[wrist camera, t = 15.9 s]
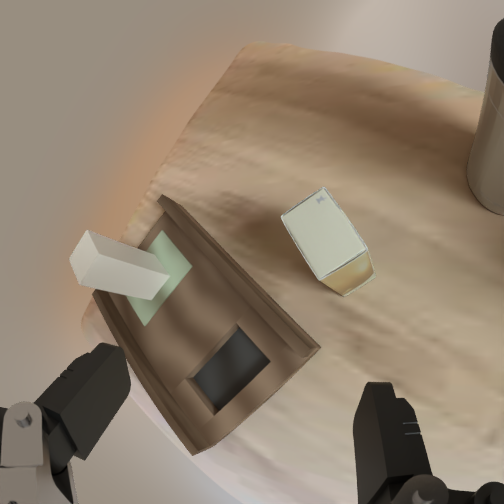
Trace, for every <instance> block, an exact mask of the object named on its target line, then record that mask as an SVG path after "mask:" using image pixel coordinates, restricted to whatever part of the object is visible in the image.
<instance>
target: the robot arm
mask: <svg viewBox="0 0 504 504" xmlns="http://www.w3.org/2000/svg"><path fill="white" fill-rule="evenodd" d="M467 179H468V182H469V186H470V188H471V190H472V192H473V194H474V195H475V197H476V198H477V199H478V201H479V202H480V203H481V204H482V205H483V206H485V207H486V208H487V209H489V210H490V211H492V212H494V213H497V214H500V215H504V19H502V20H501V21H500V22H498V23H497V25H496V26H495V29H494V31H493V36H492V43H491V53H490V61H489V69H488V75H487V83H486V88H485V93H484V99H483V104H482V109H481V113H480V118H479V122H478V126H477V130H476V134H475V138H474V142H473V145H472V149H471V153H470V156H469V160H468V163H467ZM130 387H131V380H130V376H129V371H128V367H127V363H126V358H125V353H124V350H123V349H122V348H121V347H118V346H115V345H111V344H107V343H100V344H98V345H97V346H96V348H95V349H94V350H93V351H92V352H91V353H86V354H84V355H82V356H80V357H78V358H76V359H75V360H74V361H73V362H72V363H71V364H70V365H69V366H68V367H67V370H64V371H63V372H62V373H61V374H60V377H58V378H57V379H56V380H55V381H54V382H53V383H52V384H51V385H50V386H49V387H48V388H47V389H46V390H45V391H44V393H43V394H42V395H41V396H40V397H39V398H38V399H37V400H36V401H35V402H34V403H31V402H19V403H16V404H14V405H12V406H11V407H10V408H9V409H7V408H2V407H0V504H79V503H78V499H77V494H76V489H75V483H74V478H73V472H72V466H71V463H70V459H71V458H72V456H73V455H74V456H76V457H78V458H80V459H83V460H86V458H87V457H88V455H89V454H90V452H91V451H92V449H93V447H94V446H95V444H96V443H97V442H98V440H99V438H100V437H101V435H102V434H103V432H104V431H105V429H106V428H107V426H108V425H109V423H110V422H111V420H112V419H113V417H114V416H115V414H116V413H117V411H118V410H119V408H120V407H121V405H122V404H123V402H124V401H125V399H126V398H127V396H128V394H129V392H130ZM417 422H418V421H417V418H416V415H415V412H414V409H413V408H412V406H411V405H410V404H409V403H408V402H407V401H406V399H405V398H396V396H395V393H394V389H393V386H392V384H391V383H390V382H368V383H367V384H366V386H365V388H364V391H363V394H362V397H361V400H360V402H359V405H358V408H357V411H356V413H355V417H354V422H353V437H354V448H355V460H356V474H357V490H358V504H504V484H502V483H500V482H489V483H486V484H484V485H483V486H482V487H480V488H479V489H478V490H477V491H476V492H469V491H458V490H451V489H448V488H447V486H446V485H445V483H444V482H443V481H442V480H440V479H439V478H437V477H435V476H433V474H432V472H431V468H430V464H429V460H428V456H427V453H426V449H425V445H424V442H423V438H422V435H420V432H421V431H420V428H419V425H418V424H417Z"/></svg>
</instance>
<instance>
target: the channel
mask: <svg viewBox="0 0 504 504" xmlns="http://www.w3.org/2000/svg"><path fill="white" fill-rule="evenodd" d="M157 202H158V203H159V204H160V205H161V206H162V207H163V209H164V210H165V212H164V214H163V215H162V216H161V218H160V219H159V220H158V222H157V223H156V224H155V225H154V227H153V228H152V230H151V231H150V232H149V234H148V235H147V236H146V238H145V239H144V240H143V242H142V243H141V244H140V246H139V247H138V249H140V250H143V251H146V252H148V253H151V254H154V255H155V256H156V257H157V259H158V260H159V261H160V263H161V264H162V265H163V267H164V268H165V270H166V271H167V272H168V274H169V275H170V277H169V278H168V280H167V281H166V282H165V283H164V285H163V286H162V287H161V289H160V290H159V291H158V292H157V294H156V295H155V296H154V298H153V299H152V300H147V299H142V298H137V297H132V296H127V295H122V294H118V293H113V292H108V291H103V290H99V289H95V291H94V292H93V294H92V295H93V297H94V299H95V301H96V303H97V305H98V307H99V309H100V311H101V313H102V315H103V317H104V319H105V321H106V323H107V325H108V327H109V329H110V331H111V332H112V334H113V336H114V338H115V340H116V342H117V343H118V345H119V347H121V348H122V349H123V350H124V353H125V357H126V359H127V361H128V363H129V364H130V366H131V368H132V369H133V371H134V373H135V374H136V376H137V377H138V379H139V381H140V382H141V384H142V385H143V387H144V389H145V390H146V392H147V393H148V395H149V396H150V398H151V399H152V401H153V402H154V404H155V405H156V407H157V408H158V410H159V411H160V413H161V414H162V416H163V417H164V418H165V420H166V421H167V423H168V424H169V426H170V427H171V428H172V430H173V431H174V432H175V434H176V435H177V436H178V438H179V439H180V441H181V442H182V443H183V444H184V446H185V447H186V448H187V450H188V451H189V452H190V454H191V455H192V456H194V455H196V454H198V453H200V452H203V451H205V450H207V449H209V448H211V447H213V446H215V445H216V444H217V443H218V442H219V441H221V440H222V439H223V438H224V437H226V436H227V435H228V434H229V433H230V432H232V431H233V430H234V429H235V428H236V427H237V426H239V425H240V424H241V423H242V422H243V421H244V420H246V419H247V418H248V417H249V416H250V415H251V414H252V413H254V412H255V411H256V410H257V409H258V408H259V407H260V406H261V405H262V404H264V403H265V402H266V401H267V400H268V399H269V398H270V397H271V396H272V395H273V394H274V393H275V392H277V391H278V390H279V389H280V388H281V387H282V386H283V385H284V384H285V383H286V382H287V381H288V380H289V379H290V378H291V377H292V376H293V375H294V374H295V373H296V372H297V371H298V370H299V369H300V368H301V367H302V366H303V365H304V364H305V363H306V362H307V361H308V360H309V359H310V358H311V357H312V356H313V355H314V354H315V353H316V352H317V351H318V350H319V349H320V348H321V347H320V346H319V345H318V344H317V343H316V342H315V341H314V340H313V339H312V338H311V337H310V336H309V335H308V334H307V333H306V332H305V331H304V330H303V329H302V328H301V327H300V326H299V325H298V324H297V323H296V322H295V321H294V320H293V319H292V318H291V317H290V316H289V315H288V314H287V313H286V312H285V311H284V310H283V309H282V308H281V307H280V306H279V305H278V304H277V303H276V302H275V301H274V300H273V299H272V298H271V297H270V296H269V295H268V294H267V293H266V292H265V291H264V290H263V289H262V288H261V287H260V286H259V285H258V284H257V283H256V282H255V281H254V280H253V279H252V278H251V277H250V276H249V275H248V273H247V272H246V271H245V270H244V269H243V268H242V267H241V266H240V265H239V264H238V263H237V262H236V261H235V260H234V259H233V258H232V257H231V256H230V255H229V254H228V253H227V252H226V251H225V250H224V249H223V248H222V247H221V246H220V245H219V244H218V243H217V242H216V241H215V240H214V239H213V238H212V237H211V236H210V235H209V234H208V232H207V231H206V230H205V229H204V228H203V227H202V226H201V225H200V224H199V223H198V222H197V221H196V220H195V219H194V218H193V217H192V216H191V215H190V214H189V213H188V212H187V211H186V210H185V209H184V208H183V207H182V206H181V205H180V204H178V203H176V202H175V201H173V200H171V199H169V198H168V197H166V196H164V195H163V194H162V195H161V197H160V198H159V199H158V200H157Z"/></svg>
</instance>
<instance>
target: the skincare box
mask: <svg viewBox="0 0 504 504" xmlns="http://www.w3.org/2000/svg"><path fill="white" fill-rule="evenodd" d="M281 219H282V221H283V223H284V225H285V227H286V229H287V230H288V232H289V234H290V236H291V237H292V239H293V241H294V242H295V244H296V246H297V247H298V249H299V251H300V252H301V254H302V256H303V257H304V259H305V260H306V262H307V263H308V265H309V266H310V268H311V270H312V271H313V273H314V274H315V276H316V277H317V279H318V280H319V281H320V282H322V283H324V284H325V285H327V286H328V287H330V288H331V289H333V290H334V291H336V292H337V293H339V294H340V295H341V296H343V297H345V296H347V295H349V294H350V293H352V292H354V291H355V290H357V289H359V288H360V287H362V286H363V285H365V284H366V283H368V282H369V281H371V280H372V279H374V278H375V277H376V273H375V270H374V267H373V263H372V260H371V257H370V254H369V250H368V247H367V246H366V244H365V243H364V241H363V240H362V238H361V237H360V235H359V234H358V232H357V231H356V229H355V228H354V226H353V225H352V223H351V222H350V220H349V219H348V218H347V216H346V215H345V213H344V212H343V211H342V209H341V208H340V207H339V205H338V204H337V202H336V201H335V200H334V198H333V197H332V196H331V194H330V193H329V192H328V190H327V189H326V188H325V187H322V188H320V189H319V190H317V191H316V192H314V193H313V194H311V195H310V196H308V197H307V198H305V199H304V200H302V201H301V202H299V203H298V204H297V205H295V206H294V207H292V208H291V209H290V210H288V211H287V212H286V213H284V214H283V215H282V216H281Z"/></svg>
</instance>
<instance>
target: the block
mask: <svg viewBox="0 0 504 504" xmlns="http://www.w3.org/2000/svg"><path fill="white" fill-rule="evenodd" d="M69 261H70V263H71V266H72V268H73V271H74V273H75V276H76V278H77V280H78V283H79V285H82V286H86V287H91V288H95V289H99V290H104V291H108V292H113V293H118V294H122V295H127V296H132V297H137V298H142V299H147V300H152V299H153V298H154V296H155V295H156V294H157V292H158V291H159V290H160V289H161V287H162V286H163V285H164V283H165V282H166V281H167V280H168V278H169V277H170V275H169V274H168V272H167V271H166V270H165V268H164V267H163V265H162V264H161V263H160V261H159V260H158V259H157V257H156V256H155V255H154V254H151V253H148V252H146V251H143V250H140V249H137V248H135V247H132V246H129V245H127V244H124V243H121V242H119V241H116V240H113V239H111V238H108V237H105V236H103V235H100V234H98V233H95V232H92V231H90V230H86V232H85V233H84V235H83V237H82V238H81V240H80V241H79V243H78V245H77V246H76V248H75V250H74V252H73V253H72V255H71V256H70V258H69Z"/></svg>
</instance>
